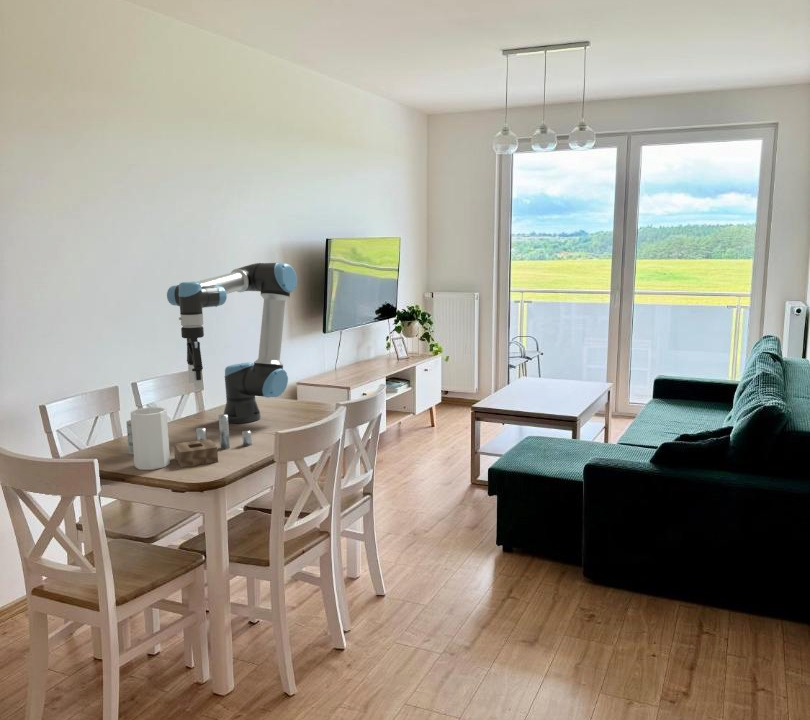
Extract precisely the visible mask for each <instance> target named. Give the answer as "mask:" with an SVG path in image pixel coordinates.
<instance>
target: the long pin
mask: <svg viewBox="0 0 810 720" xmlns="http://www.w3.org/2000/svg"><path fill="white" fill-rule="evenodd" d="M218 427H219V441H220V443H219V444H220V445H219V446H220V449H221V450H228V449H230V448H231V447H230V445H231V444H230V430H229V429H230V428H229V427H230V426H229V423H228V414H223V413H220V414H218Z"/></svg>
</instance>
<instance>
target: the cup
mask: <svg viewBox="0 0 810 720" xmlns="http://www.w3.org/2000/svg"><path fill="white" fill-rule="evenodd" d="M129 415H130V420H131V426H132V439H133V451H134V454H133V460H134V461H133V462H134V467H135V468H136V469H138V470H139V471H153V470H154V471H155V470H158V469H163V468H166V467H167V466H169V465H170V464H171V455H170V454H171V452H170V440H169V429H168V416H167V415H168V413H167V409H166V408H164V407H159V406H158V407H156V406H154V407H151V406H149V407H143V408H142V407H141V408H138V409H135V410H132V411H130V414H129Z"/></svg>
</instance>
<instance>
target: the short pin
mask: <svg viewBox="0 0 810 720" xmlns="http://www.w3.org/2000/svg"><path fill="white" fill-rule="evenodd" d="M241 433H242V436H241V437H242V438H241V439H242V446H243V447H250V446H252V445H253V442H252V441H253V440H252V437H253V436H252V430H250V429H247V430H242V431H241Z"/></svg>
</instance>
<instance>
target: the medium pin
mask: <svg viewBox="0 0 810 720" xmlns="http://www.w3.org/2000/svg"><path fill="white" fill-rule="evenodd" d="M195 430H196V431H195V432H196V441H199V440H206V439H207V429H206V427H198V428H196V429H195Z"/></svg>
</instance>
